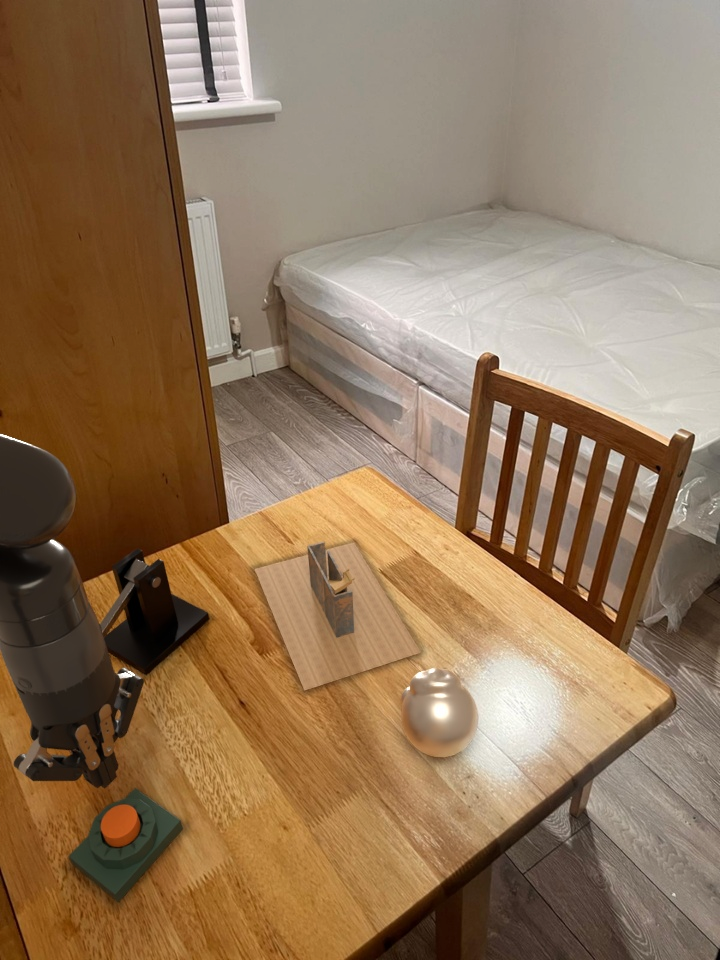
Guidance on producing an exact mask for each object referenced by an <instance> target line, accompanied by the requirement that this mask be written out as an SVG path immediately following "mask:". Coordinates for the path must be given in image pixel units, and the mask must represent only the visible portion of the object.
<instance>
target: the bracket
mask: <svg viewBox="0 0 720 960" xmlns="http://www.w3.org/2000/svg"><path fill="white" fill-rule="evenodd" d="M136 559H138V560H140V561H142V562H144V563H146V560H145V556H144V552H143V550H142V549H139V547H137V548H135V549H134V550H132V551H131V552H130V553H129V554H127V555H126V556H124V557H123V558H122V559H120V560H119V561H118V562H116V563H115V564H113V565H111V569H112V574H113V577H114V580H115V584H116V588H117V591H118V594H119V595H120V594H121V592H122V591H123V589H124V588H125V587H126V585H127V584H128V582H129V580H127V579H126V578H124V576H125V574H126V573H127V571H128V570H129V568H130V567H131V565H132V564H133V563H134V561H135V560H136ZM133 579H134V583H135V586H136V592H135V593H134V595H133V596H132V598H131V599H130V601H129V602H128V604H127V605H126V607H125V608H124V610H123V611H124V614H125V618H126V619H124V620H123V621H122V622H121V623H119V624H118V625H117V626H115V627H114V628H113V629H111V630H110V631H109V632H108V634H107V635H106V637H105V638H104V640H105V643H106V646H107V650H108V653H109V655H111V656H113V657H115V658H116V659H118V660H120V661H122V662H123V663H125V664H126V665H128V666H130V667H131V668H133V669H134V670H136V671H138V672H139V673H141V674H143V675H145V677H146V676H148V675H149V674H150V673H151V672H152V671H154V670H155V669H156V668H157V667H158V666H159V665H161V663H162V662H164V661H165V660H166V659H167V658H168V657H169V656H170V655H171V654H172V653H173V652H175V651H176V650H177V649H178V648H179V647H180V646H181V645H182V644H184V643H185V642H186V641H187V640H188V639H189V638H190V637H191V636H192V635H193V634H194V633H196V632H197V631H199V629H201V628H202V627H203V626H204V625H205V624H206V623H207V622H209V620H210V615H209V612H207V611H206V610H205V609H202V608H200V607H198V606H196V605H195V604H193V603H190V602H188V601H186V600H185V599H182V598H180V597H178V596H177V595H175V594H173V593H172V591H171V586H170V583H169V578H168V573H167V569H166V565H165V561H164V560H162V559H160V558H157V559H156V560H155V561H153V562H152V563H151V564H150V565H149V566H148V567H147V568H146V569H144V570H143V571H142V572H141V573H139V574H138V575H137V576H135V577H134V578H133Z"/></svg>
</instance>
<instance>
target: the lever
mask: <svg viewBox="0 0 720 960" xmlns="http://www.w3.org/2000/svg"><path fill="white" fill-rule="evenodd" d="M148 566H150V565H149V564H148V563H146V562H145V563H144V562H142V561H140V560H138V559H136V560H135V561H134V563H133V564H132V565H131V567H130V568H129V570H128V571H127V573H126V574H125V576H124V578H126V579H127V580H129V582H128V584H127V585H126V587H125V588H124V589H123V591H122V592H121V594H119V595H118V597H117V598H116V599H115V601H114V603H113V604H112V606H111V608H109V610H108V612H107V613H106V614H105V616H104V617H103V619H102V620H101V621H100V622H99V624H100V625H101V628H102V634H103V637H104V638H105V637H106V635H107V634H108V633H109V632H111V630H112V628H113V627H114V625H115V623H116V622H117V620H118V618H119V617H120V615H122V613H123V611H124V608H125V607H126V605H127V604H128V602H129V601H130V599H131V598H132V596H133V595H134V593H135V592H136V586H135V583H134V579H133V578H134V577H135V576H137V575H138V574H139V573H141V572H142V571H143V570H144V569H146V568H147V567H148Z"/></svg>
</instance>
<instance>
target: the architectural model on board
mask: <svg viewBox="0 0 720 960" xmlns="http://www.w3.org/2000/svg"><path fill="white" fill-rule="evenodd" d="M306 549H307V554H305V555H302V556H298V557H294V558H290V559H287V560H286V559H285V560H283V561H279V562H275V563H272V564H268V565H265V566H260V567H258V568H254V571H255V572H254V573H255V574H256V576H257V579H258V582H259V584H260V586H261V588H262V591H263V593H264V597H265V599H266V601H267V603H268V606H269V608H270V611H271V613H272V615H273V618H274V620H275V623H276V625H277V628H278V630H279V633H280V635H281V637H282V640H283V642H284V645H285V647H286V650H287V652H288V654H289V657H290V659H291V661H292V664H293V665H294V666H293V667H294V669H295V672H296V674H297V676H298V679H299V681H300V683H301V686H302V688H303V691H308V690H311V689H313V688H317V687H320V686H323V685H326V684H329V683H332V682H336V681H338V680H341V679H345V678H347V677H350V676H355V675H357V674H360V673H363V672H366V671H369V670H372V669H375V668H378V667H381V666H385V665H387V664H391V663H394V662H397V661H399V660H403V659H406V658H409V657H412V656H415V655H418V654H421V653H422V652H421V650H420V648H419V646H418V645H417V643H416V642H415V640H414V638H413V637H412V636H411V634H410V632H409V629H407V627H406V625H405V624H404V622H403V620H402V619H401V617H400V616H399V614H398V612H397V610H396V609H395V607H394V606H393V604H392V602H391V601H390V599H389V598H388V596H387V594H386V592H385V591H384V588H383V587H382V585H381V584H380V582H379V581H378V579H377V578H376V576H375V574H374V572H373V571H372V569H371V568H370V566H369V565H368V562H367V561H366V559H365V557H364V556H363V555H362V553H361V552H360V551H361V550H359V548H358V546H357V545H356V543H355V542H354V541H353V542H350V543H346V544H343V545H338V546H335V547H330V548H328V549H326V541H325V540H324V541H321V542H316V543H313V544H312V543H311V544H308V545H307V546H306Z"/></svg>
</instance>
